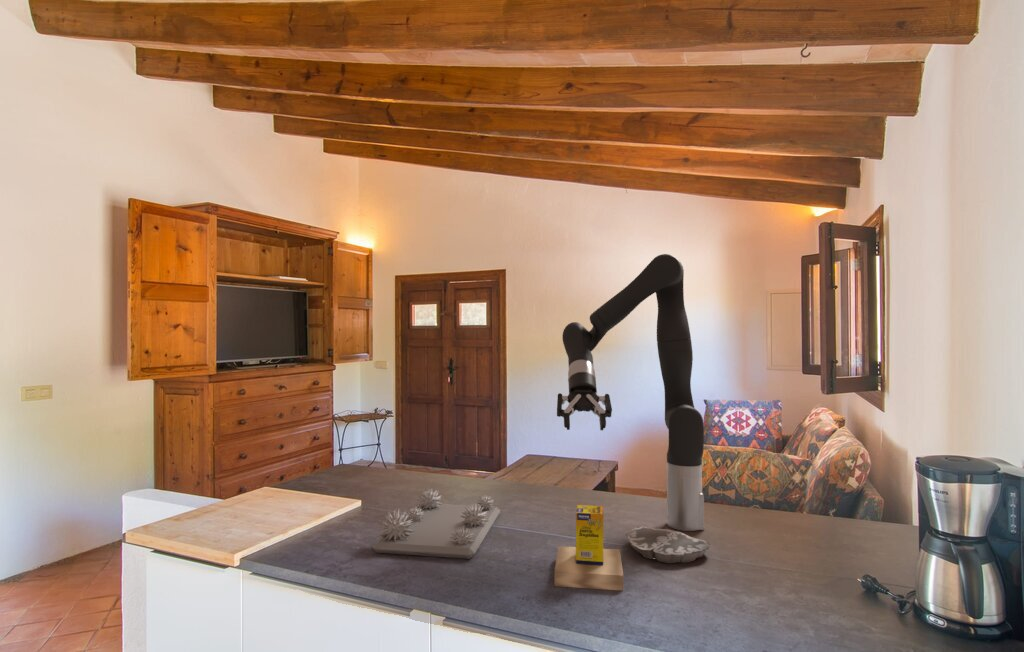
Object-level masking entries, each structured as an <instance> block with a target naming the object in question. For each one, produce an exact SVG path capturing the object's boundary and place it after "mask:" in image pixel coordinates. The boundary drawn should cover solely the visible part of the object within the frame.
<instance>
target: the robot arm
mask: <svg viewBox="0 0 1024 652" xmlns="http://www.w3.org/2000/svg"><path fill="white" fill-rule="evenodd" d="M684 271H685V270H684V266H683V264H682V263H681V261H680V259H678V258H677V257H676V256H674V255H672V254H668V253H663V254H659V255H657V256H655V257H654V258H653V259H652V260H650V262H649V263H648V264H647V265H646V266H645V268H644V269H643V270H642V271H641V272H640V273H639V274H638V275H637V276H636V277H635V278H634V279H633V280H631V282H630V283H629V284H627V286H625V287H623V288H622V289H621V290H620V291H619V292H617V293H616V294H615V295H614V296H612V297H611V298H610V299H609V300H606V302H605V303H603V304H602V305H601V306H600V307H598V308H597V309H596V310H594V311H593V312H592V313H591V314H590V316H589V321H590V324H591V325H592V328H591V329H590V330H588V329H587V328H586V327H585V326H584V325H583V324H582V323H579V322H577V321H575V322H574V321H573V322H570V323H568V324H567V325H566V326H565V327H564V328H563V331H562V342H563V343H562V344H563V347H564V349H565V353H566V356H567V359H568V360H567V361H568V373H567V374H568V375H567V377H568V378H567V382H568V394H567V395H563V394H562V393H558V394H557V400H556V401H557V403H556V417H558V418H560V417H561V418H562V417H563V426H564V428H565V429H566V430H568V431H570V428H571V422H570V420H571V419H570V417H571V415H573V414H574V413H575V412H576V411H577V412H590V411H591V412H592V413H593V414H594V415H595V416H597V417H598V418H599V419H598V420H599V430H600V431H604V429H606V426H607V420H606V419H607V418H612V412H613V407H612V403H611V397H610V394H608V393H605V394H604V395H599V394H598V391H597V390H598V389H597V379H596V378H597V377H596V371H595V368H594V357H593V354H592V352H593V351H594V350H595V349H596V347H597V346H598V344H599V343H600V342H601V341H602V339H603V338H604V336H605V335H607V333H608V332H609V331H610V330H611V329H613V328H614V327H615V326H617V325H618V324H619V323H621V322H622V321H623V320H624V319H626V318H627V317H628V316H629V315H630V314H631V313H632V312H633V311H634V310H635V309H636V308H637V307H638V306H639V305H640V304H641V303H642V302H644V301H645V300H646V299H647V298H649V297H650V296H652V295H653V294H655V295H656V302H657V318H656V319H657V320H656V346H657V354H658V359H659V366H660V367H659V368H660V372H661V376H662V381H663V388H664V423H665V426H666V428H667V429H668V449H667V452H666V508H667V509H666V513H667V514H666V518H667V519H666V520H667V521H666V523H667V526H668V527H670V528H672V529H674V530H678V531H684V532H696V531H700V530H701V531H704V530H705V495H704V492H703V475H702V474H703V470H702V469H703V465H702V464H703V455H704V450H705V449H704V445H705V441H704V439H705V434H704V433H705V427H704V419H703V416H702V414H701V413H700V412H699V411H698V410H697V409H696V408H695V405H694V399H693V394H692V388H691V387H692V386H691V385H692V384H691V379H692V370H693V360H694V358H693V345H692V337H691V329H690V326H689V325H690V324H689V319H688V316H687V311H686V306H685V298H684V297H685V296H684V275H685V274H684V273H685V272H684ZM566 402H568V405H567V407H566V408H565V409H563V407H562V406H563V405H564V404H565V403H566ZM599 402H601V404H602V405H604V407H605V408H603V407H602V406H601V404H600V403H599Z"/></svg>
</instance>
